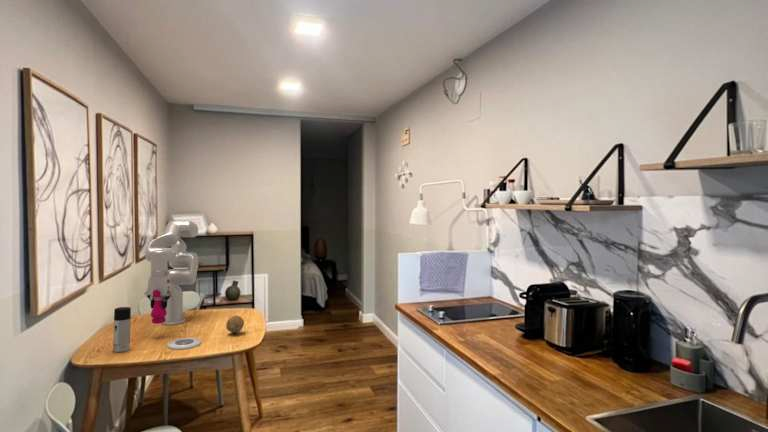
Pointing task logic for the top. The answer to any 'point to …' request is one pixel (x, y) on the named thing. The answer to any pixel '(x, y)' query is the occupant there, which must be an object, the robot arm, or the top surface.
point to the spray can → (121, 329)
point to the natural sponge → (235, 324)
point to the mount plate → (184, 343)
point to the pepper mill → (158, 309)
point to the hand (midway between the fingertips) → (158, 307)
